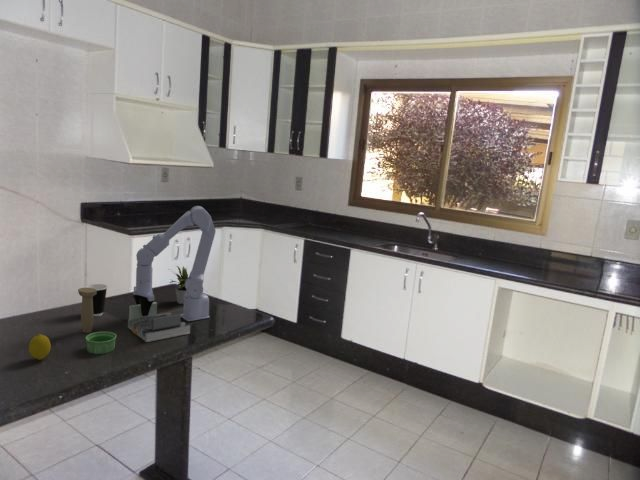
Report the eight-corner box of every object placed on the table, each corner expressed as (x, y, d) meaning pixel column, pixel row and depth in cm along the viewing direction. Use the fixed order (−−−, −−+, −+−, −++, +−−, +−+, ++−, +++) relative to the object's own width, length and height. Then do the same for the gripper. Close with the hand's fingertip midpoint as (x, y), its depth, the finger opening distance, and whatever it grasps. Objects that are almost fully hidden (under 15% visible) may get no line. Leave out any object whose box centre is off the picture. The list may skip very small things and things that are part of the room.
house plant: (157, 300, 203) (158, 263, 200) (184, 295, 214) (186, 260, 211) (176, 309, 194) (177, 270, 191) (203, 303, 205) (205, 266, 202)
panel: (154, 316, 184) (155, 301, 183) (156, 317, 182) (157, 303, 181) (129, 320, 177) (129, 305, 176) (130, 322, 176) (131, 306, 175)
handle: (86, 335, 159) (86, 293, 157) (75, 330, 163) (75, 289, 160) (99, 332, 164) (99, 290, 161) (87, 327, 167) (88, 286, 164)
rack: (169, 320, 181) (170, 302, 180) (189, 333, 169) (190, 315, 168) (127, 327, 170) (127, 309, 169) (145, 342, 158) (146, 322, 157)
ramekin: (82, 355, 145) (82, 342, 144) (88, 344, 153) (88, 331, 152) (114, 354, 147) (114, 341, 147) (117, 343, 156) (118, 331, 155)
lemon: (35, 355, 142) (34, 330, 141) (54, 356, 142) (54, 331, 141) (25, 363, 136) (24, 337, 135) (45, 364, 137) (44, 338, 136)
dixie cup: (80, 316, 176) (80, 288, 174) (91, 310, 184) (91, 283, 182) (100, 318, 176) (101, 290, 174) (111, 312, 184) (111, 285, 182)
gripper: (126, 276, 179) (125, 310, 182) (141, 285, 169) (140, 321, 171) (144, 274, 184) (143, 307, 186) (160, 283, 174) (159, 318, 176)
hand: (143, 314), depth 179 cm, fingers open, 3 cm apart
